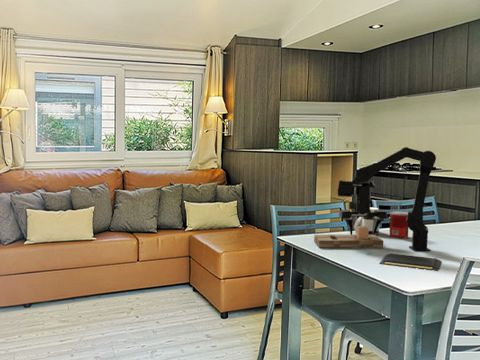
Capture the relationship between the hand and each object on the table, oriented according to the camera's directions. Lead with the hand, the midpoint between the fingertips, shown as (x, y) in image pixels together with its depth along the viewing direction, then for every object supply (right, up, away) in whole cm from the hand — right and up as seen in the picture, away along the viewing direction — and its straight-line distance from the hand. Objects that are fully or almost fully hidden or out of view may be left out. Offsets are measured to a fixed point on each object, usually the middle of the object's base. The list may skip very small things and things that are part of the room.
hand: (362, 234), depth 197 cm
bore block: (-6, -4, 0) cm, 7 cm away
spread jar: (+9, -2, +26) cm, 28 cm away
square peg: (0, -4, 0) cm, 4 cm away
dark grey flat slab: (+10, -8, -27) cm, 30 cm away
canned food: (+21, -3, +17) cm, 27 cm away
